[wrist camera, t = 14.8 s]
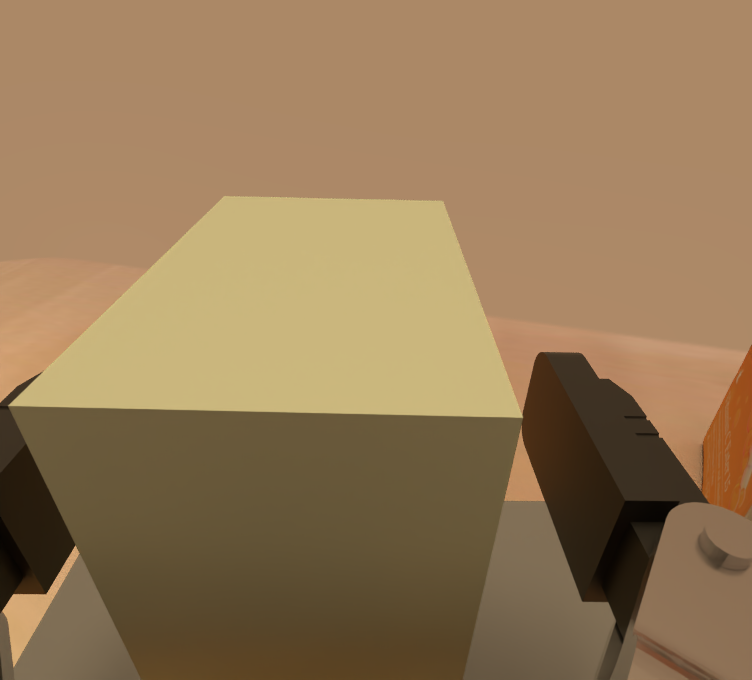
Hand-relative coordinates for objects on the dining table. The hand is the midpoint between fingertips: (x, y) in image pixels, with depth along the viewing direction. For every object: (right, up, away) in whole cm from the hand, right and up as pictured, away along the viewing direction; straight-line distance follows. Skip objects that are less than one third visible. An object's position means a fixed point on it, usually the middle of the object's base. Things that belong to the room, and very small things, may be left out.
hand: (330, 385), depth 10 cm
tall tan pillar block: (0, -7, +2) cm, 8 cm away
